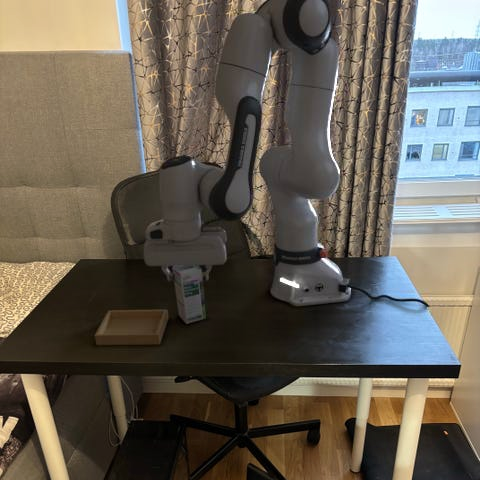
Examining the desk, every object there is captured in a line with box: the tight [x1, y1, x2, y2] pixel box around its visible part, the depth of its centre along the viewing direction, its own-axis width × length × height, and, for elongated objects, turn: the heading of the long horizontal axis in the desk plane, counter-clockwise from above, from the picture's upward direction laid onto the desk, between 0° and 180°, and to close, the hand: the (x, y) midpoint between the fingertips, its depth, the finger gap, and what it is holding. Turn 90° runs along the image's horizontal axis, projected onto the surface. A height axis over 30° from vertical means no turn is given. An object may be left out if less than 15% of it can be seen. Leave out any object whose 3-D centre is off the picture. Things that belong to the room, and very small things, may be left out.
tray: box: [94, 309, 169, 346], centre depth 125 cm, size 16×13×3 cm
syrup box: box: [172, 265, 207, 325], centre depth 127 cm, size 6×6×14 cm
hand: (188, 280), depth 125 cm, fingers closed on syrup box, 7 cm apart
